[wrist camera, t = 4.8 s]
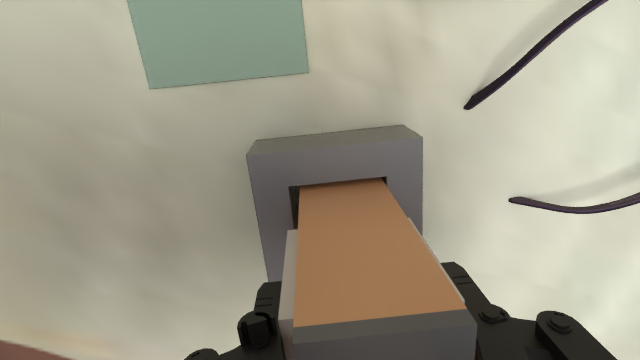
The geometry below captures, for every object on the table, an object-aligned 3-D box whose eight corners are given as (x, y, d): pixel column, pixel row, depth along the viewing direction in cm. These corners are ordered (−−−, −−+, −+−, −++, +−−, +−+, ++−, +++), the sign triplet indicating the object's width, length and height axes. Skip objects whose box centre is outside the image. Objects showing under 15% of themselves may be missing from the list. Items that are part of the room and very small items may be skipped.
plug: (308, 235, 25) (312, 465, 11) (300, 171, 23) (292, 344, 9) (375, 228, 25) (467, 448, 11) (372, 164, 23) (477, 324, 9)
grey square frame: (277, 266, 26) (271, 301, 22) (256, 140, 23) (245, 155, 19) (405, 252, 26) (421, 285, 22) (403, 124, 23) (422, 137, 19)
